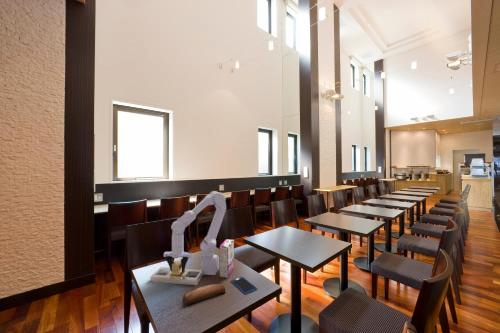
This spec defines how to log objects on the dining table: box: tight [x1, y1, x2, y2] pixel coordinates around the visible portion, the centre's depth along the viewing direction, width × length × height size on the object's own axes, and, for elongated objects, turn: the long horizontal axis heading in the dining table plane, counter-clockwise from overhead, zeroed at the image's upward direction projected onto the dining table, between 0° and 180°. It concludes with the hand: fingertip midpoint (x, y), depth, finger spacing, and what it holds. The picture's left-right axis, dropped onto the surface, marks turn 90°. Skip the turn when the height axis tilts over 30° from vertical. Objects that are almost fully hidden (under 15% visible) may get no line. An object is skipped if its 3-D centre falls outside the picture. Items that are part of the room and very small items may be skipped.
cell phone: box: [230, 276, 258, 295], centre depth 104 cm, size 7×14×1 cm, turn 35°
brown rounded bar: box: [182, 283, 226, 307], centre depth 96 cm, size 18×7×7 cm
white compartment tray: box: [149, 266, 204, 286], centre depth 110 cm, size 24×10×2 cm, turn 83°
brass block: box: [172, 260, 183, 277], centre depth 110 cm, size 4×4×8 cm
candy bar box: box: [219, 239, 235, 279], centre depth 116 cm, size 11×5×16 cm, turn 168°
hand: (177, 270), depth 110 cm, fingers open, 5 cm apart
